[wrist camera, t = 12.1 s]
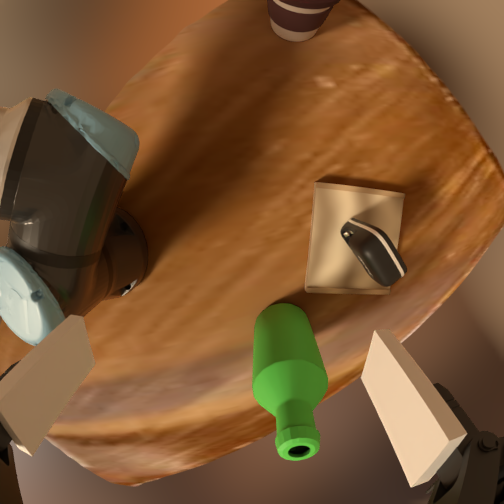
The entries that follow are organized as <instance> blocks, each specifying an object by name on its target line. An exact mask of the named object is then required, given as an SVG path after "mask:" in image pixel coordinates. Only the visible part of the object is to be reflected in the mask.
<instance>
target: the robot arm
mask: <svg viewBox="0 0 504 504" xmlns="http://www.w3.org/2000/svg"><path fill="white" fill-rule="evenodd" d="M45 99H47V100H46V101H42V100H39V99H35V98H32V97H29V98H27V99H25V100H24V101H22V102H20V103H19V104H17V105H15V106H14V107H11V108H6V107H2V106H0V219H2V220H8V221H10V227H9V234H8V241H7V245H6V246H5V247H4V246H2V247H0V315H1V316H2V318H3V320H4V321H5V323H6V324H7V325H8V327H9V328H10V329H11V330H12V331H13V332H14V333H15V334H16V335H17V336H18V337H20V338H21V339H22V340H24V341H25V342H27V343H29V344H31V345H34V346H35V347H34V348H33V349H32V350H31V351H30V352H29V353H28V354H27V355H26V356H25V357H24V358H23V359H22V360H20V361H18V362H16V363H15V364H13V365H11V366H10V367H9V368H8V369H7V370H6V371H5V374H4V373H3V374H2V375H1V376H0V504H23V501H22V497H21V493H20V489H19V484H18V479H17V474H16V469H15V462H14V456H13V450H12V446H11V445H10V444H9V443H10V442H11V440H13V441H14V443H15V444H16V445H17V447H18V448H19V449H20V450H22V451H24V452H25V453H27V454H29V455H31V456H33V455H34V453H35V452H36V450H37V448H38V447H39V445H40V444H41V442H42V441H43V439H44V437H45V436H46V434H47V433H48V431H49V430H50V428H51V427H52V425H53V424H54V422H55V421H56V419H57V418H58V416H59V415H60V413H61V412H62V410H63V409H64V407H65V406H66V405H67V403H68V402H69V400H70V399H71V397H72V396H73V395H74V393H75V392H76V390H77V389H78V387H79V386H80V385H81V383H82V382H83V381H84V379H85V378H86V376H87V375H88V374H89V372H90V371H91V370H92V368H93V367H94V365H95V364H96V363H95V360H94V357H93V353H92V350H91V346H90V343H89V339H88V335H87V331H86V327H85V323H84V319H83V317H84V316H85V315H86V314H87V313H88V312H90V311H91V310H92V309H93V308H94V307H95V306H96V305H98V304H99V303H100V302H101V301H102V300H108V299H114V298H118V297H121V296H124V295H126V294H127V293H129V292H130V291H131V290H132V289H134V288H135V287H136V286H137V285H138V284H139V282H140V281H141V280H142V278H143V276H144V274H145V271H146V268H147V263H148V249H147V244H146V240H145V237H144V234H143V232H142V230H141V228H140V227H139V225H138V224H137V222H136V221H135V220H134V219H133V218H132V217H131V216H130V215H129V214H128V213H127V212H125V211H124V210H122V209H120V208H118V207H117V205H118V202H119V200H120V197H121V194H122V192H123V189H124V187H125V184H126V182H127V180H129V179H130V171H131V168H132V165H133V163H134V160H135V158H136V155H137V152H138V150H139V138H138V135H137V134H136V132H135V131H134V130H133V129H131V128H130V127H128V126H127V125H125V124H124V123H122V122H121V121H119V120H117V119H116V118H114V117H112V116H110V115H109V114H107V113H105V112H103V111H102V110H100V109H98V108H96V107H94V106H92V105H90V104H88V103H86V102H84V101H82V100H80V99H77V98H76V97H74V96H72V95H70V94H68V93H66V92H64V91H61V90H59V89H53V90H51V92H50V93H49V94H47V95H46V98H45ZM361 379H362V381H363V383H364V385H365V387H366V389H367V391H368V394H369V395H370V398H371V400H372V402H373V404H374V406H375V408H376V410H377V413H378V414H379V417H380V419H381V421H382V423H383V425H384V427H385V430H386V432H387V434H388V436H389V438H390V441H391V443H392V445H393V447H394V450H395V452H396V454H397V457H398V459H399V461H400V463H401V466H402V468H403V470H404V472H405V475H406V477H407V480H408V482H409V484H410V487H414V486H416V485H419V484H422V483H424V482H427V481H429V480H430V479H431V477H432V476H433V475H434V474H435V473H436V472H437V474H438V476H439V478H438V479H437V480H436V481H435V482H434V483H433V485H432V486H431V487H430V488H429V489H428V490H427V492H426V493H427V494H428V493H429V492H430V491H431V490H432V489H433V491H432V494H431V496H430V499H429V502H428V504H504V437H500V438H498V437H497V436H496V435H495V434H493V433H491V432H488V431H481V432H479V431H478V430H477V428H476V427H475V425H474V424H473V423H472V421H471V420H470V418H469V417H468V416H467V414H466V413H465V412H464V410H463V409H462V408H461V407H459V404H458V402H457V401H456V400H454V397H453V396H452V394H451V393H450V392H449V391H448V390H447V389H446V388H445V387H443V386H442V385H440V384H439V383H436V384H432V383H431V382H430V380H429V379H428V378H427V376H426V375H425V374H424V372H423V371H422V370H421V369H420V367H419V366H418V365H417V363H416V362H415V361H414V359H413V358H412V357H411V356H410V354H409V353H408V352H407V351H406V349H405V348H404V347H403V346H402V344H401V343H400V342H399V341H398V339H397V338H396V337H395V336H394V334H393V333H392V332H391V331H390V329H383V330H374V334H373V338H372V342H371V345H370V349H369V353H368V356H367V360H366V363H365V366H364V370H363V373H362V376H361Z"/></svg>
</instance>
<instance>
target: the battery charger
mask: <svg viewBox="0 0 504 504" xmlns="http://www.w3.org/2000/svg"><path fill="white" fill-rule="evenodd" d="M340 233H341V236H342V237H343V239H344V240H345V242H346V243H347V245H348V246H349V247H350V249H351V250H352V252H353V253H354V255H355V256H356V257H357V259H358V260H359V261H360V263H361V264H362V266H363V267H364V269H365V270H366V272H367V273H368V275H369V276H370V277H371V278H372V279H373V280H374V281H376V282H377V283H378V284H380V285H381V286H383V287H389V286H391V285H392V284H394V283H395V282H396V281H397V280H398V279H399V278H401V277H403V276H404V274H405V273H406V272H407V268H406V265H405V263H404V262H403V260H402V258H401V256H400V255H399V253H398V251H397V249H396V248H395V246H394V244H393V243H392V241H391V240H390V238H389V237H388V235H387V234H386V233H385V232H384V231H383V230H381V229H380V228H378V227H376V226H373V225H371V224H369V223H366V222H363V221H360V220H358V219H355V218H351V219H349V220H348V222H346V223H345V224H344V225H343V227H342V228H341V231H340Z"/></svg>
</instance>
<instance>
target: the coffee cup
mask: <svg viewBox="0 0 504 504" xmlns="http://www.w3.org/2000/svg"><path fill="white" fill-rule="evenodd" d="M339 1H340V0H267V2H268V12H269V15H270V21H271V27H272V29H273V31H274V32H275V33H276V34H277V35H278V36H280V37H281V38H283V39H286V40H289V41H295V42H299V41H305V40H308V39H310V38H311V37H313V36H314V35H315V33H316V32H317V30H318V28H319V27H320V26H321V25H322V24H323V22H324V21H325V19H326V18H327V16H328V14H329V13H330V11H331V9H332V8H333V6H334V5H335V4H337V3H338V2H339Z"/></svg>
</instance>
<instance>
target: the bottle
mask: <svg viewBox="0 0 504 504" xmlns="http://www.w3.org/2000/svg"><path fill="white" fill-rule="evenodd" d="M252 388H253V394H254V397H255V399H256V400H257V402H258V403H259V404H260V405H261V406H262V407H263V408H265V409H266V410H267V411H269V412H270V413H271V414H273V415H274V416H276V425H277V437H276V439H275V444H276V448H277V450H278V453H279V455H280V456H281V457H282V458H284V459H287V460H303V459H307V458H309V457H312V456H313V455H314V454H316V453H317V452H318V450H319V446H320V433H319V431H318V430H316V427H315V422H314V417H313V412H312V411H313V410H314V409H315V407H316V406H317V405H318V403H319V402H320V401H321V399H322V398H323V396H324V394H325V393H326V391H327V389H328V377H327V373H326V370H325V367H324V364H323V361H322V358H321V355H320V352H319V349H318V346H317V343H316V340H315V337H314V334H313V331H312V328H311V325H310V322H309V320H308V317H307V315H306V313H305V312H304V311H303V310H302V309H300V308H299V307H297V306H295V305H292V304H288V303H279V304H275V305H271V306H269V307H268V308H266V309H265V310H263V311H262V312H261V314H260V315H259V316H258V317H257V320H256V323H255V329H254V353H253V381H252Z"/></svg>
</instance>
